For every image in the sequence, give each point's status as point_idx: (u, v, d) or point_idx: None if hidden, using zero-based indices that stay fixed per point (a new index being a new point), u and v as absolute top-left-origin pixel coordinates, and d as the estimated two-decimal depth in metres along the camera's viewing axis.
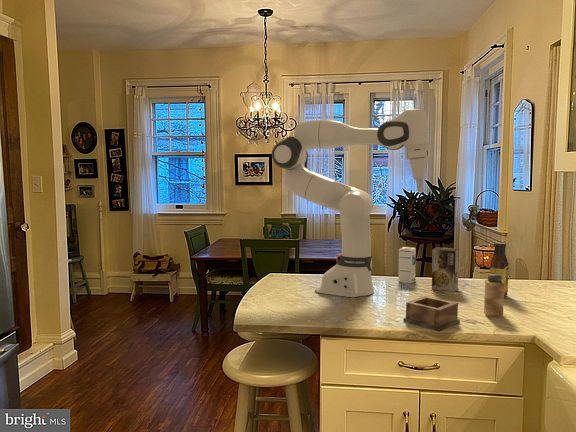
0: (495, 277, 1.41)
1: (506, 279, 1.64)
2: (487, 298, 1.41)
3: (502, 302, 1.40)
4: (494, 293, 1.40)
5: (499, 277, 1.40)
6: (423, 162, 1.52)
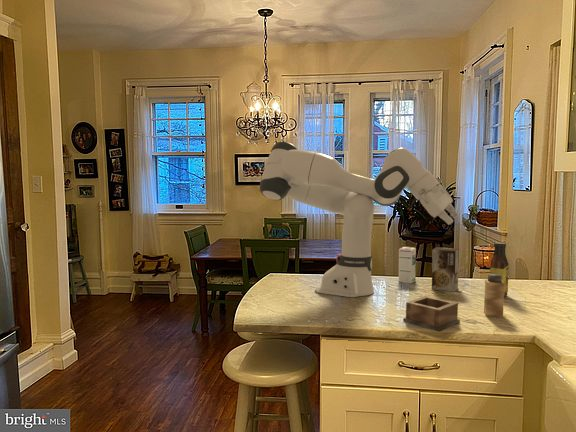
0: (495, 277, 1.41)
1: (506, 279, 1.64)
2: (487, 298, 1.41)
3: (502, 302, 1.40)
4: (494, 293, 1.40)
5: (499, 277, 1.40)
6: None
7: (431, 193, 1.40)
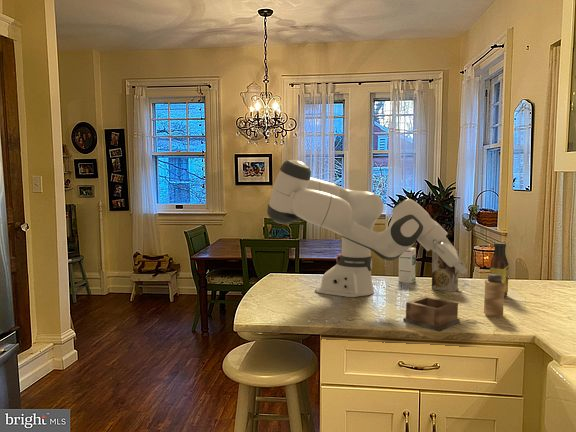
0: (495, 277, 1.41)
1: (506, 279, 1.64)
2: (487, 298, 1.41)
3: (502, 302, 1.40)
4: (494, 293, 1.40)
5: (499, 277, 1.40)
6: None
7: (444, 243, 1.40)
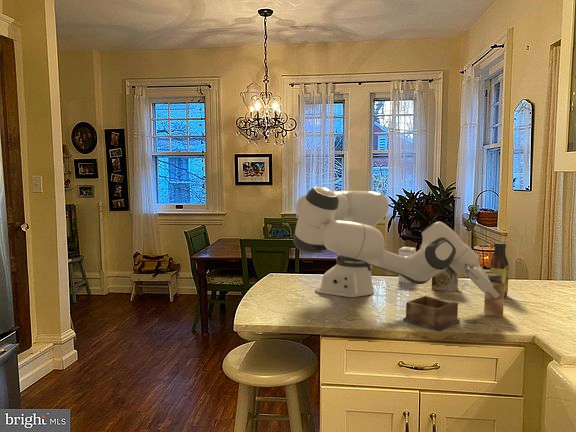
0: (495, 277, 1.40)
1: (506, 279, 1.64)
2: (487, 298, 1.41)
3: (502, 302, 1.40)
4: None
5: (499, 277, 1.40)
6: None
7: (477, 268, 1.38)
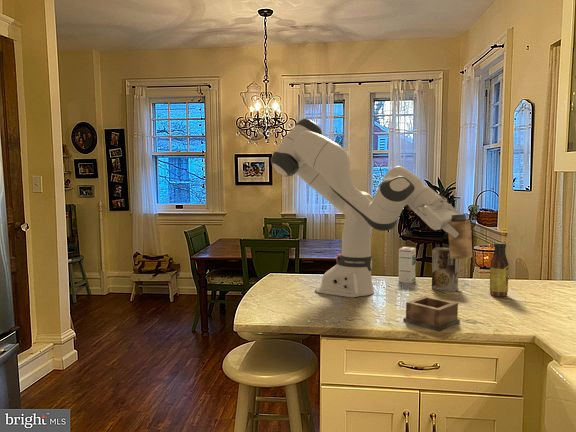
0: (456, 216, 1.32)
1: (506, 279, 1.64)
2: (449, 239, 1.33)
3: (464, 242, 1.30)
4: None
5: (460, 215, 1.32)
6: None
7: (431, 206, 1.33)
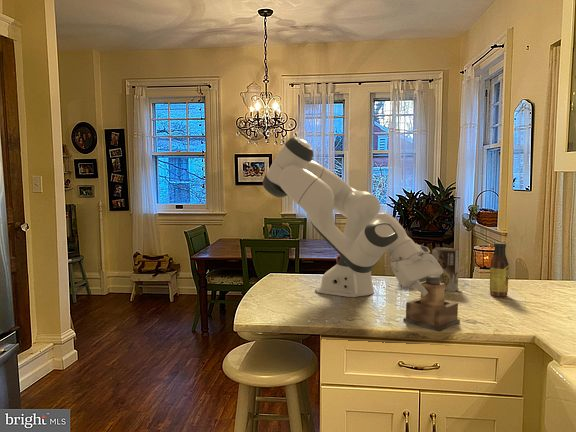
0: (429, 279, 1.33)
1: (506, 279, 1.64)
2: (421, 300, 1.35)
3: (434, 306, 1.32)
4: (427, 295, 1.34)
5: (433, 279, 1.33)
6: None
7: (405, 261, 1.35)
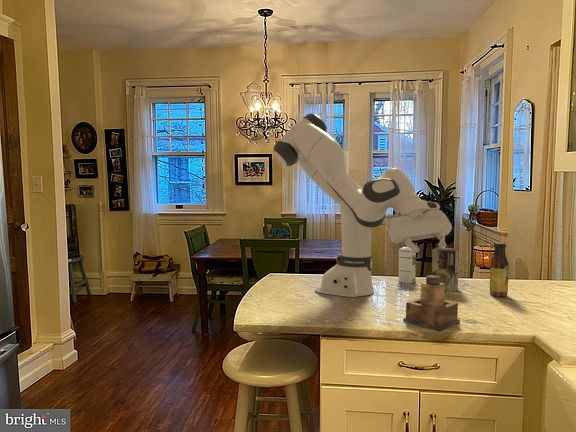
0: (429, 279, 1.33)
1: (506, 279, 1.64)
2: (421, 300, 1.35)
3: (434, 306, 1.32)
4: (427, 295, 1.34)
5: (433, 279, 1.33)
6: None
7: (401, 218, 1.35)
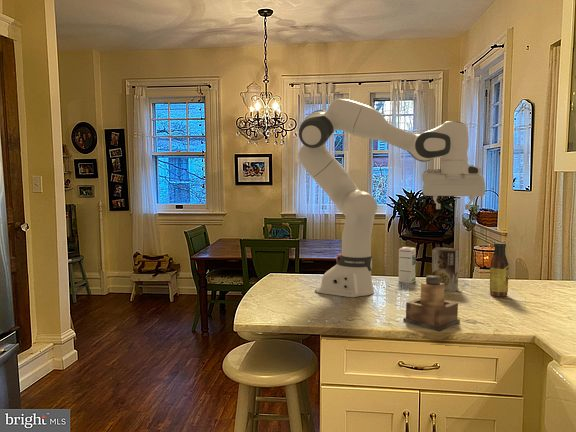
0: (429, 279, 1.33)
1: (506, 279, 1.64)
2: (421, 300, 1.35)
3: (434, 306, 1.32)
4: (427, 295, 1.34)
5: (433, 279, 1.33)
6: None
7: (436, 177, 1.53)
